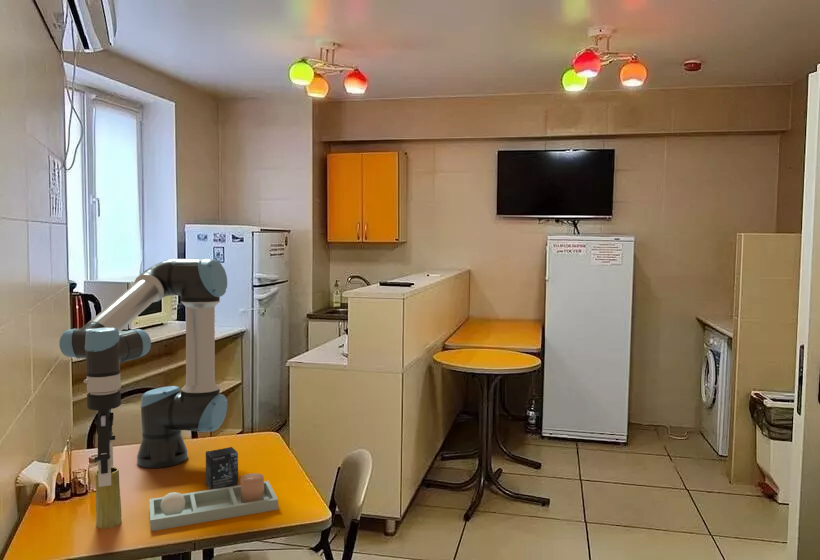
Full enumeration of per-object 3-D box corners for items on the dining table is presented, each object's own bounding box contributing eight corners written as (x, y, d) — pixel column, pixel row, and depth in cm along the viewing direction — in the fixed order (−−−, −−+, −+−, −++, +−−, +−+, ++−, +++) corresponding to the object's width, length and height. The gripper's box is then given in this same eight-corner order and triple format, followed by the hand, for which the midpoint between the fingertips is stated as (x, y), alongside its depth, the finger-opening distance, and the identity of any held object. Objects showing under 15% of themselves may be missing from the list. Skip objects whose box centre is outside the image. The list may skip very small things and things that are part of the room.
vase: (96, 534, 157) (93, 477, 156) (95, 523, 162) (93, 468, 161) (123, 528, 160) (121, 472, 158) (121, 518, 165) (119, 464, 164)
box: (211, 493, 180) (210, 457, 180) (205, 487, 185) (204, 451, 184) (239, 487, 185) (238, 451, 184) (232, 481, 189) (231, 446, 189)
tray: (149, 511, 169) (149, 499, 169) (268, 492, 181) (268, 480, 181) (150, 534, 157) (150, 520, 156) (278, 512, 169) (278, 499, 168)
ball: (160, 513, 166) (159, 490, 166) (184, 509, 169) (184, 486, 168) (161, 522, 161) (160, 499, 160) (186, 518, 163) (185, 495, 163)
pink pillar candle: (239, 500, 174) (239, 475, 174) (261, 496, 176) (261, 471, 176) (242, 509, 169) (242, 483, 168) (266, 505, 171) (265, 479, 170)
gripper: (90, 382, 168) (92, 461, 169) (82, 405, 145) (85, 496, 147) (121, 379, 171) (123, 457, 172) (119, 401, 148) (121, 491, 149)
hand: (106, 475), depth 159 cm, fingers open, 13 cm apart
